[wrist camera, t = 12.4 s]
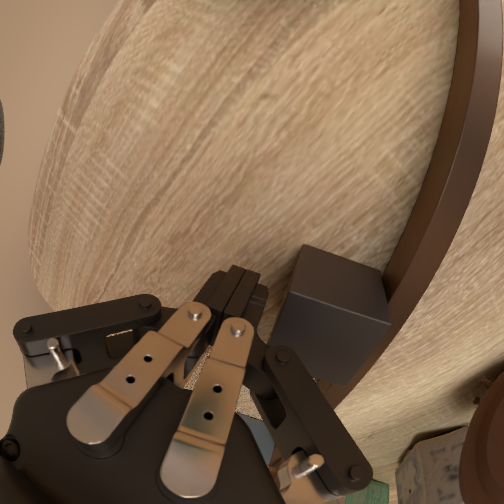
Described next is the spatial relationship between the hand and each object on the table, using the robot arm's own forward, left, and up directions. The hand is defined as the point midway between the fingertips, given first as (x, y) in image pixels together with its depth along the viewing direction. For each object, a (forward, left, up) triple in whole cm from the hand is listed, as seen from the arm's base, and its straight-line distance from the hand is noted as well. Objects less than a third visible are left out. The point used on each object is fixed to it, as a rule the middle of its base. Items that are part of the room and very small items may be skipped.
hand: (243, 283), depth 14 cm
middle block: (+4, +2, -2) cm, 5 cm away
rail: (+6, +5, -2) cm, 8 cm away
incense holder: (+30, +1, -2) cm, 30 cm away
